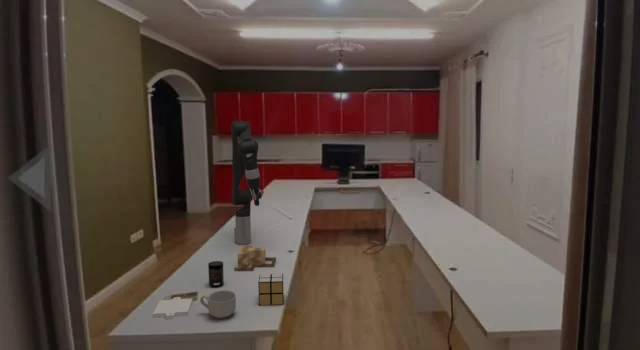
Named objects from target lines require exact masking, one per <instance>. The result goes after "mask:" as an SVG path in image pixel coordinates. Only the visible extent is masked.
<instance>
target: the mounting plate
mask: <svg viewBox="0 0 640 350" xmlns="http://www.w3.org/2000/svg"><path fill="white" fill-rule="evenodd" d="M193 300H194V299H193V298H181V296H176V297H173V298H172V299H163V300H159V301H158V303H157V306H156V307H155V309H154V311H153V313H152V318H153V319H154V318H165V319H166V320H174V319H175V318H176V317H181V316H182V317H184V316H189V314H190V312H191V308H192V305H193Z"/></svg>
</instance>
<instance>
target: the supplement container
mask: <svg viewBox="0 0 640 350" xmlns="http://www.w3.org/2000/svg"><path fill="white" fill-rule="evenodd" d="M207 265H208V266H207V268H208V271H207V272H208V285H209V287H210V288H220V287H223V286H224V283H225V282H224V281H225V280H224V262H223V261H220V260H214V261H210V262H208V264H207Z"/></svg>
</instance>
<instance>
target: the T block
mask: <svg viewBox="0 0 640 350" xmlns="http://www.w3.org/2000/svg"><path fill="white" fill-rule="evenodd" d="M252 246H253V245H252V244H241V247H240V248H239V251H238V252H237V267H250V266H251V265H252V264H267V261H266V247H252Z"/></svg>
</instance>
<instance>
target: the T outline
mask: <svg viewBox="0 0 640 350" xmlns="http://www.w3.org/2000/svg"><path fill="white" fill-rule="evenodd" d="M266 262H270V263H265V264H252V265H250V266H249V267H238V266H235V267H234V268H233V271H234V272H254V270H255V268H275V266H276V262H277V257H276V256H274V257H273V256H272V257H271V256H269V257H268V256H267V257H266Z"/></svg>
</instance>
